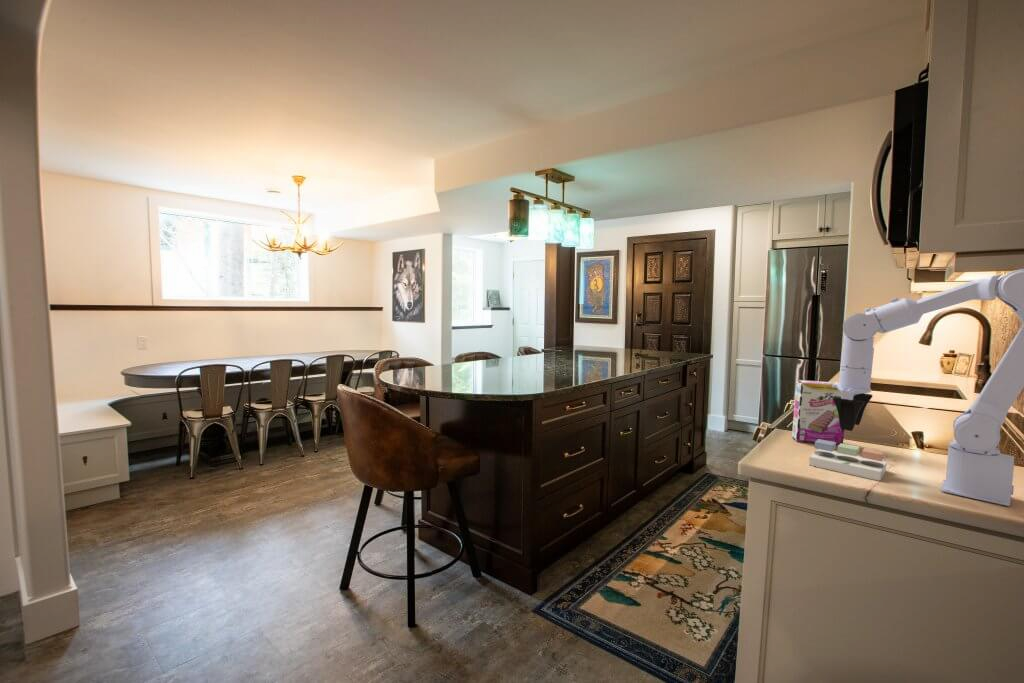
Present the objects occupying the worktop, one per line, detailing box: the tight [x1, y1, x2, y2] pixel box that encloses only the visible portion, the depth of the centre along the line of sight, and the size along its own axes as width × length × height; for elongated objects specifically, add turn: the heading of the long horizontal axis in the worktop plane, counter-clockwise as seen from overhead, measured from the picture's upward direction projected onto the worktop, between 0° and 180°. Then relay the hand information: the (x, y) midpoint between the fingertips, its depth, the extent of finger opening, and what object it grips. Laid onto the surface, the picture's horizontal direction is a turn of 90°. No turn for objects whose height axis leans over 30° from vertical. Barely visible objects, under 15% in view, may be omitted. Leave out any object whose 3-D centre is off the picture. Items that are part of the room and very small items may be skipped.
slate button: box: [814, 439, 837, 452], centre depth 110 cm, size 4×4×2 cm
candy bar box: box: [791, 379, 845, 446], centre depth 127 cm, size 11×5×16 cm, turn 74°
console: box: [808, 449, 888, 482], centre depth 107 cm, size 13×9×2 cm
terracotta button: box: [861, 447, 886, 462], centre depth 103 cm, size 4×4×2 cm
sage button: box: [836, 443, 861, 456], centre depth 107 cm, size 4×4×2 cm
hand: (850, 426), depth 106 cm, fingers open, 7 cm apart
